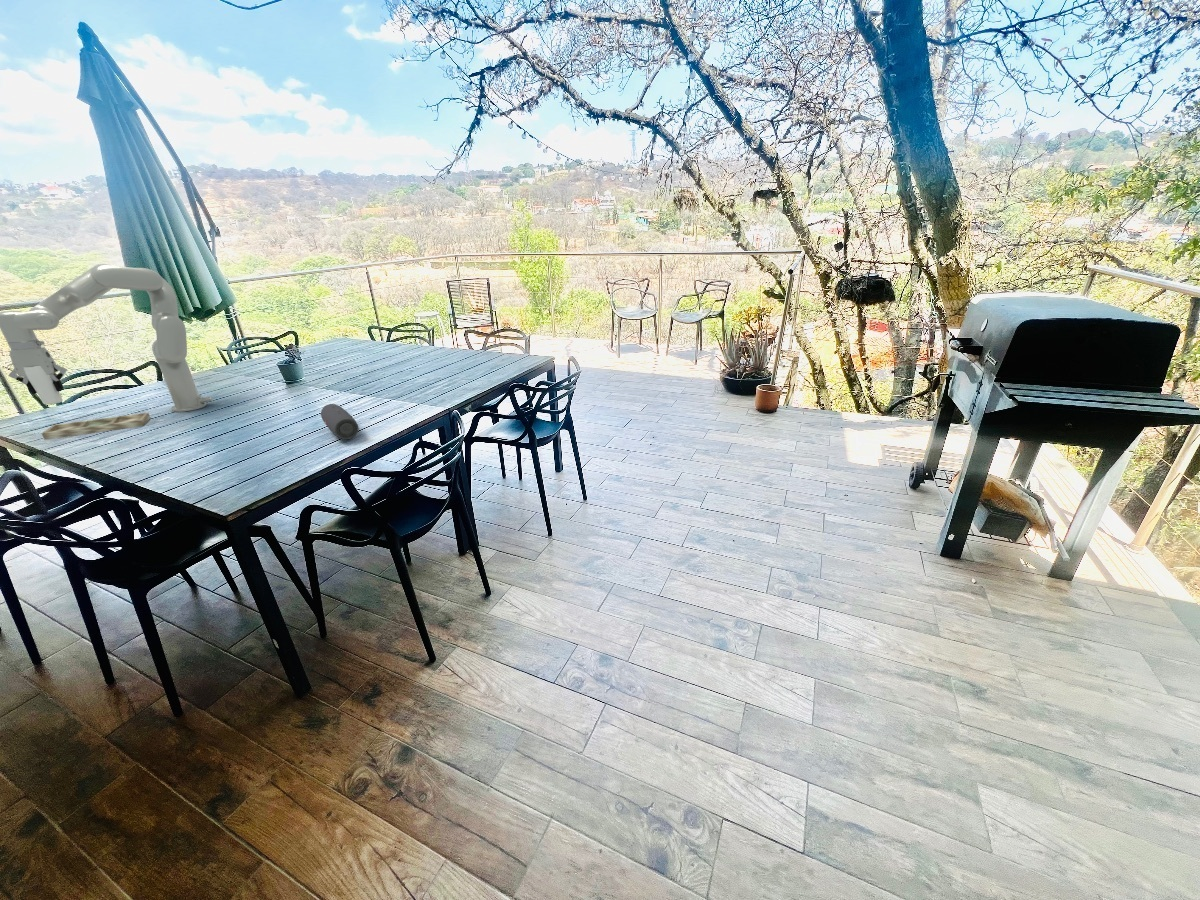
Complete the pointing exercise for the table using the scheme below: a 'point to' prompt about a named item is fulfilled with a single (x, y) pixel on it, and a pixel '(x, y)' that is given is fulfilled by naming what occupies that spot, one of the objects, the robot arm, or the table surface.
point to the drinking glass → (43, 385)
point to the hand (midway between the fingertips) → (47, 391)
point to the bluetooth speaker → (339, 421)
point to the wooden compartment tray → (96, 425)
